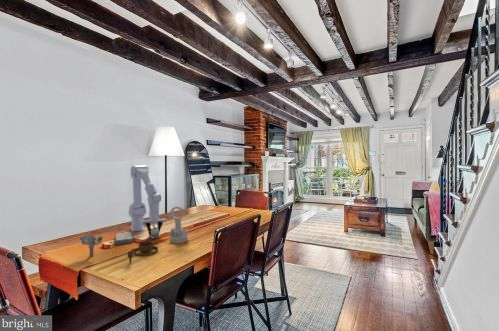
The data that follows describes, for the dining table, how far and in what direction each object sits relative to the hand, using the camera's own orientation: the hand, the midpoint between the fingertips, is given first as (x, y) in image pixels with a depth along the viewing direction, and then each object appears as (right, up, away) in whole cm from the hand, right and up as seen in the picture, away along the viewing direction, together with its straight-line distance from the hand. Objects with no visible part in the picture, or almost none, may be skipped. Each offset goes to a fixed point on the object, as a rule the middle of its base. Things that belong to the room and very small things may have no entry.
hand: (153, 234), depth 159 cm
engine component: (+17, -2, -6) cm, 18 cm away
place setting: (+3, -3, -29) cm, 29 cm away
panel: (-15, -1, -8) cm, 17 cm away
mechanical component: (-19, -2, -33) cm, 38 cm away
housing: (0, -1, 0) cm, 1 cm away
